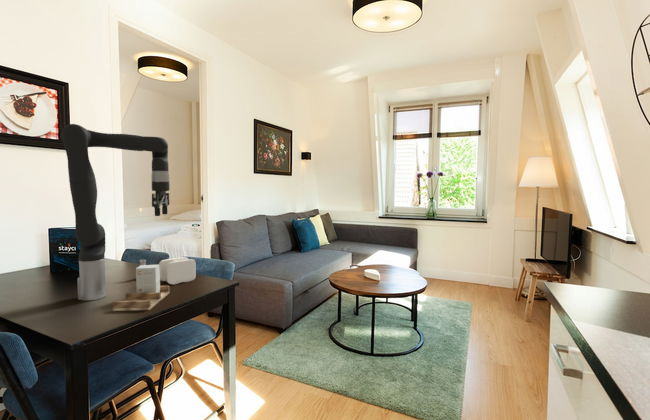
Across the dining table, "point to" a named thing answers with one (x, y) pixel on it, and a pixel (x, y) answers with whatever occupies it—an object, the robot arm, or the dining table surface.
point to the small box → (148, 279)
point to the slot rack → (141, 300)
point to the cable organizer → (177, 270)
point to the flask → (142, 262)
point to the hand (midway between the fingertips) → (161, 215)
